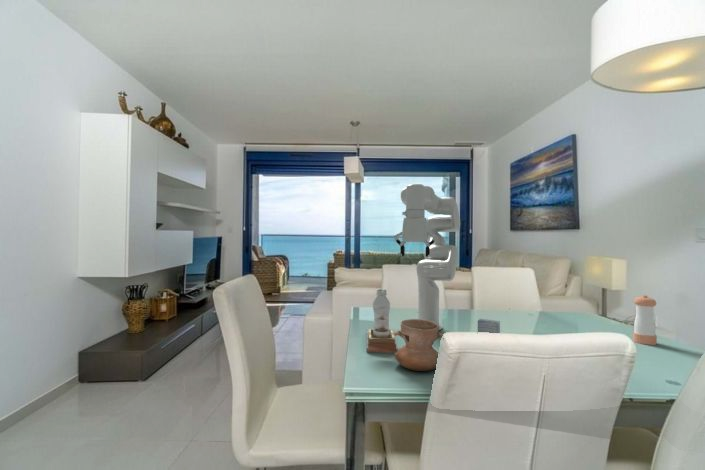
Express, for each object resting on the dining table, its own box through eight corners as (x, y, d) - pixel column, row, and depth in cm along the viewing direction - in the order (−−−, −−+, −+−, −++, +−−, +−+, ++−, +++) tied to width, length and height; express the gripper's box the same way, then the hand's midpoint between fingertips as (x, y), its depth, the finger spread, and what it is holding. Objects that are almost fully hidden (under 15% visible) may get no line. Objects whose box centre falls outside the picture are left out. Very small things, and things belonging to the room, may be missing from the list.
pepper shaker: (657, 342, 139) (657, 295, 139) (655, 346, 134) (656, 297, 134) (634, 338, 144) (634, 293, 144) (632, 342, 139) (632, 295, 139)
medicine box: (500, 342, 137) (500, 320, 137) (498, 345, 134) (498, 323, 134) (479, 339, 142) (479, 318, 142) (477, 341, 138) (477, 320, 138)
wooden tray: (366, 335, 146) (366, 326, 146) (392, 335, 145) (392, 326, 145) (366, 354, 122) (366, 343, 122) (397, 355, 121) (397, 344, 121)
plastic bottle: (391, 345, 126) (392, 291, 126) (373, 345, 126) (373, 291, 126) (388, 340, 133) (389, 288, 133) (371, 340, 132) (371, 288, 132)
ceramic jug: (391, 373, 105) (393, 327, 105) (392, 356, 119) (393, 316, 119) (451, 378, 103) (453, 331, 103) (445, 360, 117) (446, 319, 117)
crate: (368, 340, 136) (368, 329, 136) (392, 340, 135) (392, 329, 135) (369, 350, 123) (369, 338, 123) (394, 351, 123) (394, 338, 123)
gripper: (392, 214, 139) (392, 256, 139) (436, 213, 134) (436, 257, 133) (395, 215, 146) (395, 255, 146) (437, 214, 141) (437, 256, 141)
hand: (414, 256), depth 140 cm, fingers open, 9 cm apart
